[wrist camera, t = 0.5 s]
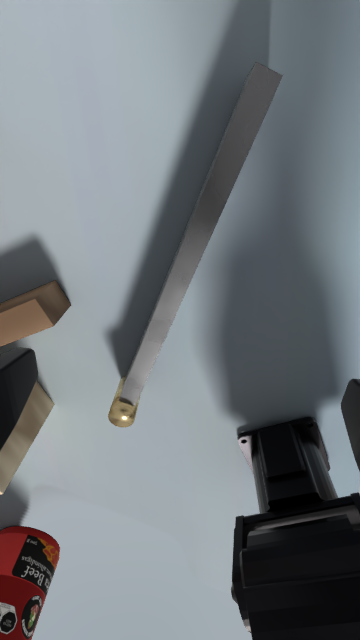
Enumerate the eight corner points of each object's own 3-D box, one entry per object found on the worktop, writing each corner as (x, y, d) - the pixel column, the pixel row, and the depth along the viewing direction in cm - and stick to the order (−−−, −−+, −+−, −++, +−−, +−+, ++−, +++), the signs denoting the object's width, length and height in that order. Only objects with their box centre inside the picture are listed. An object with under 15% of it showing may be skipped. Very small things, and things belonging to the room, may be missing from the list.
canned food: (71, 559, 39) (28, 693, 30) (11, 560, 41) (-49, 690, 31) (48, 522, 36) (-8, 661, 26) (-17, 525, 37) (-93, 659, 27)
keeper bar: (138, 396, 26) (129, 430, 22) (116, 388, 25) (105, 422, 22) (274, 90, 16) (292, 76, 13) (241, 73, 15) (251, 55, 12)
